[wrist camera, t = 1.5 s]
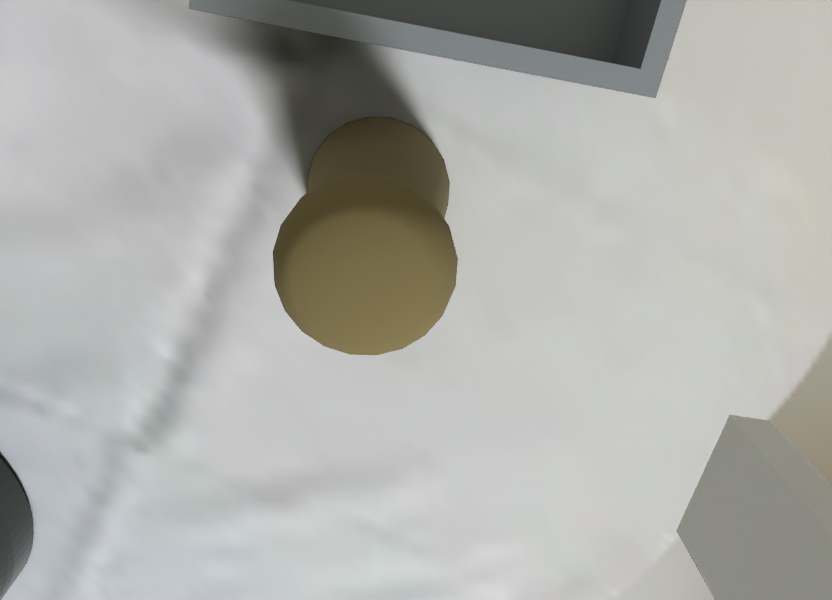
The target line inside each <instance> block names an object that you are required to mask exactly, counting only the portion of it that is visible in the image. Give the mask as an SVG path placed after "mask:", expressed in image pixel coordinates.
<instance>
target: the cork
mask: <svg viewBox="0 0 832 600" xmlns="http://www.w3.org/2000/svg"><path fill="white" fill-rule="evenodd" d="M449 183H450V182H449V178H448V174H447V170H446V166H445V162H444V159H443V158H442V156H441V155H440V153H439V152H438V150H437V148H436V147H435V145H434V144H433V142H432V141H431V140H430V139H429V138H428V137H426V136H425V135H424V134H423V133H421V132H420V131H419V130H418V129H417V128H415V127H414V126H412V125H409V124H407V123H404V122H401V121H399V120H396V119H394V118H384V117H366V118H363V119H359V120H356V121H352V122H349V123H346V124H345V125H343V126H342V127H340V128H339V129H337V130H336V131H335V132H333V133H332V134H330V135H329V136H328V137H327V138H326V139H325V141H324V142H323V143H322V145H321V146H320V148H319V149H318V150H317V152H316V153H315V155H314V158H313V161H312V164H311V167H310V171H309V174H308V181H307V194H306V195H304V196H303V197H301V199H300V200H299V201H298V203H297V204H296V205H295V207H294V208H293V209H292V211H291V212H290V214H289V215H288V216H287V218H286V219H285V220H284V222H283V223H282V225H281V227H280V230H279V233H278V237H277V240H276V243H275V247H274V250H273V262H274V281H275V287H276V289H277V292H278V294H279V297H280V299H281V302H282V304H283V307H284V309H285V311H286V312H287V314H288V315H289V316H290V317H291V319H292V320H293V321H294V322H295V323H296V325H297V326H298V327H299V328H300V329H301V331H302V332H304V333H305V334H307V335H308V336H310V337H311V338H313V339H314V340H316V341H317V342H319V343H320V344H322V345H323V346H325V347H329V348H332V349H335V350H338V351H341V352H344V353H347V354H356V355H379V354H383V353H387V352H391V351H395V350H399V349H403V348H404V347H406V346H408V345H409V344H411V343H413V342H415V341H416V340H418V339H420V338H421V337H423V336H425V335H426V334H427V332H428V331H429V330H430V329H431V328H432V327H433V326H434V325H435V323H436V322H437V321H438V320H439V319H440V318H441V317H442V315H443V313H444V311H445V309H446V307H447V304H448V302H449V300H450V297H451V295H452V293H453V290H454V288H455V285H456V273H457V260H458V259H457V255H456V251H455V247H454V243H453V240H452V236H451V232H450V228H449V226H448V224H447V223H446V221H445V220H444V217H445V214H446V210H447V206H448V197H449Z"/></svg>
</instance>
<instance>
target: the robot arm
mask: <svg viewBox="0 0 832 600" xmlns="http://www.w3.org/2000/svg"><path fill="white" fill-rule="evenodd" d="M677 532H678V534H679V536H680V538H681V540H682V541H683V543H684V545H685V547H686V549H687V550H688V552H689V554H690V556H691V558H692V559H693V561H694V563H695V564H696V567H697V568H698V570H699V572H700V574H701V576H702V577H703V579H704V581H705V583H706V584H707V586H708V588H709V590H710V592H711V593H712V595H713V597H714V599H715V600H832V486H831V485H830V484H829V483H828V482H827V481H826V480H825V479H824V478H823V477H822V475H821V474H820V473H819V472H818V471H817V470H816V469H815V468H814V467H813V466H812V465H811V464H810V463H809V462H808V461H807V460H806V459H805V458H804V457H803V456H802V455H801V454H800V453H799V451H798V450H797V449H796V448H795V447H794V446H793V445H792V444H791V443H790V442H789V441H788V440H787V439H786V438H785V437H784V436H783V435H782V434H781V433H780V432H779V430H778V429H777V428H776V427H774V425H773V424H772V423H771V422H770V421H767V420H761V419H754V418H748V417H741V416H734V415H729V418H728V420H727V422H726V424H725V426H724V428H723V431H722V433H721V435H720V437H719V439H718V442H717V444H716V446H715V448H714V450H713V452H712V455H711V457H710V459H709V461H708V463H707V465H706V468H705V470H704V472H703V474H702V476H701V478H700V481H699V483H698V485H697V487H696V489H695V492H694V494H693V496H692V498H691V500H690V502H689V505H688V507H687V509H686V511H685V513H684V515H683V518H682V520H681V522H680V524H679V526H678V528H677ZM33 534H34V531H33V520H32V515H31V510H30V507H29V504H28V501H27V499H26V496H25V494H24V492H23V490H22V488H21V486H20V484H19V482H18V481H17V479H16V478H15V476H14V475H13V473H12V472H11V470H10V469H9V468H8V466H7V465H6V464H5V463H4V462H3V460H2V459H1V458H0V600H1V599H2V597H3V596H4V595H5V593H6V592H7V590H8V589H9V588H10V586H11V585H12V584H13V582H14V581H15V579H16V578H17V577H18V575H19V574H20V572H21V571H22V570H23V568H24V566H25V564H26V563H27V561H28V558H29V556H30V553H31V549H32V544H33Z"/></svg>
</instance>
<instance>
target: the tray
mask: <svg viewBox="0 0 832 600" xmlns="http://www.w3.org/2000/svg"><path fill="white" fill-rule="evenodd" d="M686 1H687V0H190V1H189V9H192V10H198V11H203V12H208V13H213V14H219V15H224V16H229V17H234V18H239V19H245V20H250V21H255V22H260V23H266V24H271V25H276V26H281V27H287V28H292V29H297V30H302V31H307V32H313V33H318V34H323V35H328V36H334V37H339V38H344V39H349V40H354V41H360V42H365V43H370V44H375V45H381V46H386V47H391V48H396V49H402V50H407V51H412V52H417V53H422V54H428V55H433V56H438V57H443V58H449V59H454V60H459V61H464V62H470V63H475V64H480V65H485V66H490V67H496V68H501V69H506V70H511V71H517V72H522V73H527V74H532V75H538V76H543V77H548V78H553V79H558V80H564V81H569V82H574V83H579V84H585V85H590V86H595V87H600V88H606V89H611V90H616V91H621V92H626V93H632V94H637V95H642V96H647V97H653V98H656V95H657V92H658V89H659V86H660V82H661V79H662V76H663V73H664V70H665V67H666V64H667V60H668V57H669V54H670V51H671V48H672V45H673V42H674V38H675V35H676V32H677V29H678V26H679V23H680V19H681V16H682V13H683V10H684V7H685V4H686Z"/></svg>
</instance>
